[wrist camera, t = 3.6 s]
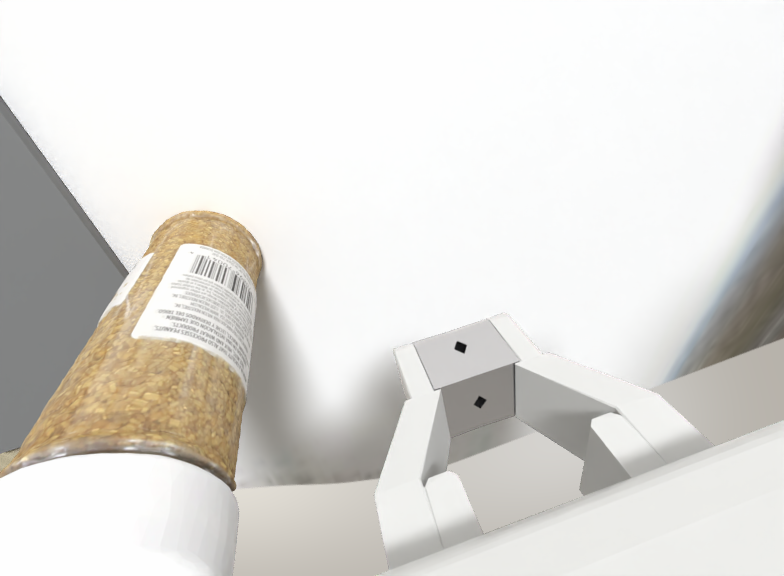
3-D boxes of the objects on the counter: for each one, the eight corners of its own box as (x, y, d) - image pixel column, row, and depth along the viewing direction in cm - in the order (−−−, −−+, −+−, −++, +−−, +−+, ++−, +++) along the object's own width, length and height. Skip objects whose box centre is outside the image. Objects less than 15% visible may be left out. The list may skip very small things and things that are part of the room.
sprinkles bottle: (127, 233, 16) (-247, 682, 5) (228, 189, 16) (91, 535, 5) (196, 312, 18) (61, 716, 7) (282, 274, 18) (277, 622, 7)
